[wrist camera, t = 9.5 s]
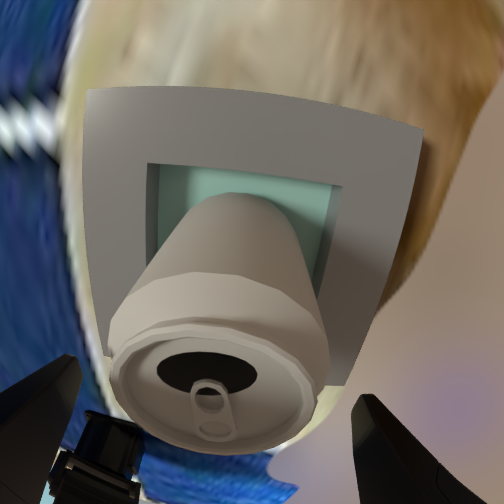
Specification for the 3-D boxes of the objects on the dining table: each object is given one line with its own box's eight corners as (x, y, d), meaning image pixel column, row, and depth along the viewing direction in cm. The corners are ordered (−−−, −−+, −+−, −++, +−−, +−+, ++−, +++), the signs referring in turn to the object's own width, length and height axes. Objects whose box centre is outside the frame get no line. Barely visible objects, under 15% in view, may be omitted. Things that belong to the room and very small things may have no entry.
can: (295, 183, 17) (356, 296, 6) (298, 297, 20) (328, 462, 9) (166, 195, 18) (48, 307, 7) (187, 303, 21) (136, 458, 10)
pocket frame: (115, 335, 22) (103, 355, 20) (107, 91, 15) (86, 89, 13) (338, 363, 23) (344, 385, 21) (404, 127, 16) (424, 129, 13)
